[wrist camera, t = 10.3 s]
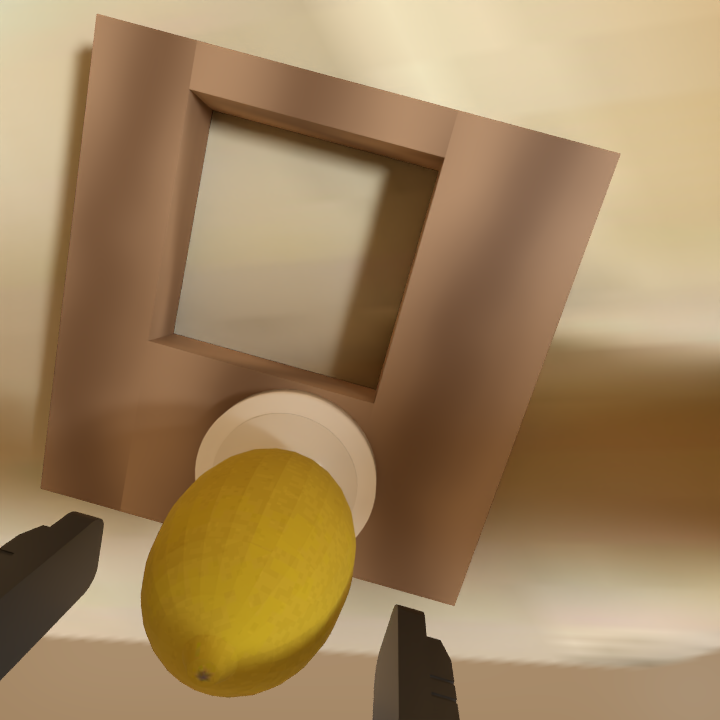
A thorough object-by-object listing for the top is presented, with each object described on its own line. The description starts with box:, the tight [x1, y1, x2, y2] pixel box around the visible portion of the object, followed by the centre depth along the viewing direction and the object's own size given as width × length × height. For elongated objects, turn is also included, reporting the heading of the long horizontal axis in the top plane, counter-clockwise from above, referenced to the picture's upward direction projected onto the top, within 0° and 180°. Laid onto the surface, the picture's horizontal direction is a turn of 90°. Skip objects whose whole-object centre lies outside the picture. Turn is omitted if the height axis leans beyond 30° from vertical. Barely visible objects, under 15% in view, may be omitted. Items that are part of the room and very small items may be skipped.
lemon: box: [141, 448, 356, 697], centre depth 13 cm, size 6×6×8 cm
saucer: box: [195, 389, 377, 538], centre depth 17 cm, size 7×7×1 cm
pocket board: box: [41, 14, 620, 606], centre depth 17 cm, size 18×18×2 cm
